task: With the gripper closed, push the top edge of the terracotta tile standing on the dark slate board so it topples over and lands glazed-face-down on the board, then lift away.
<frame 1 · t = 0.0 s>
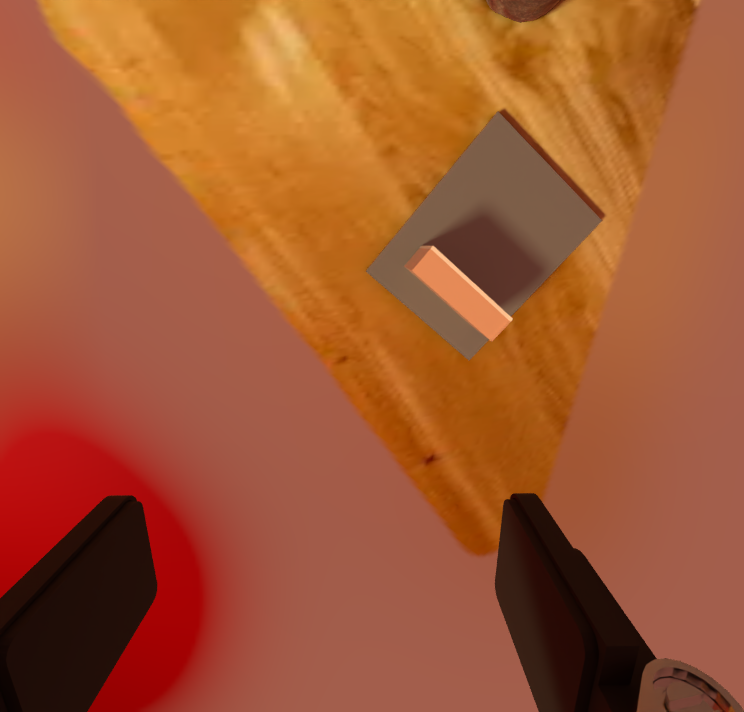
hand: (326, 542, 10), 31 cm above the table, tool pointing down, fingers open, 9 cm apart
tile: (446, 286, 38), point 1 cm above the table, touching board
board: (479, 246, 38), on the table
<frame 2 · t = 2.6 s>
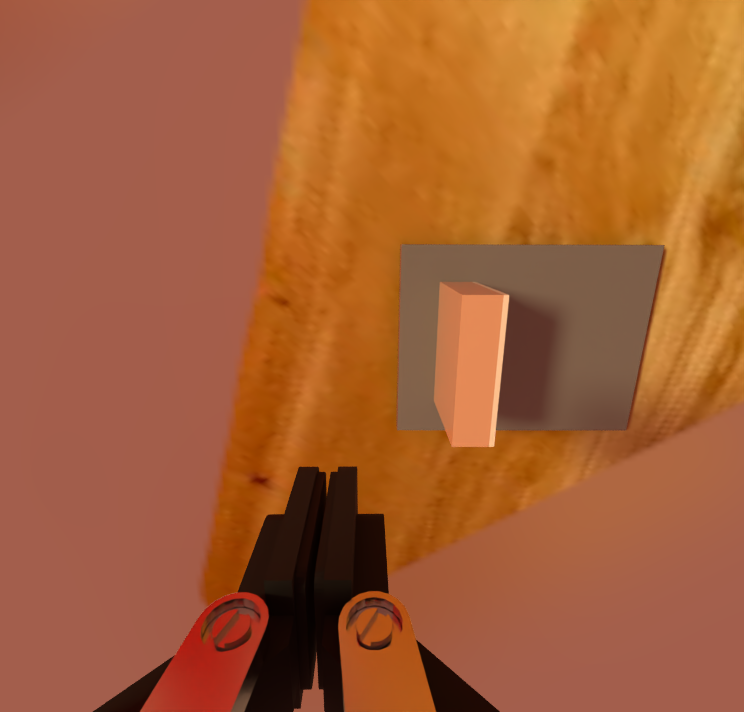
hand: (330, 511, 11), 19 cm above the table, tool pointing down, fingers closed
tile: (453, 343, 29), point 1 cm above the table, touching board
board: (516, 340, 30), on the table
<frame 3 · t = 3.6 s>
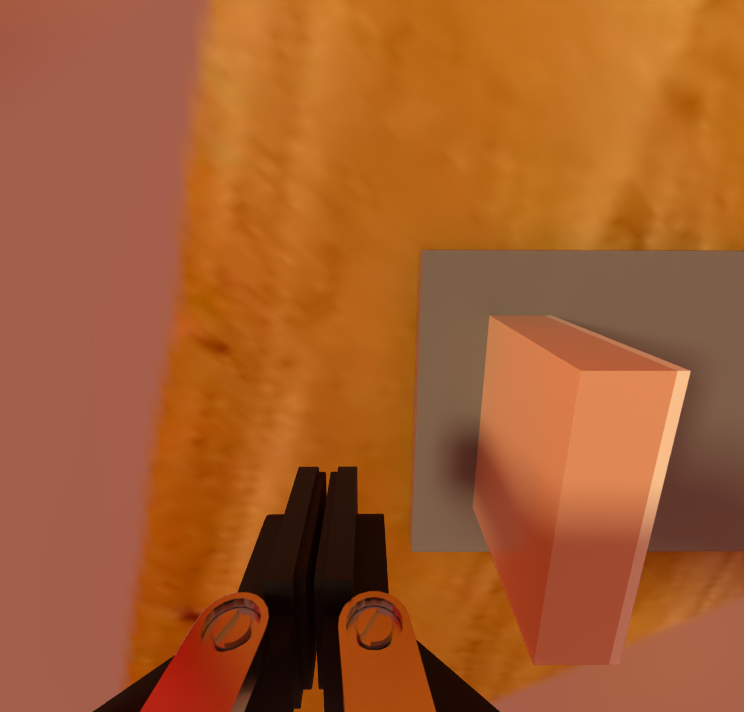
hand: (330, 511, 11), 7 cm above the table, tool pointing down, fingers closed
tile: (509, 418, 17), point 1 cm above the table, touching board
board: (611, 409, 18), on the table
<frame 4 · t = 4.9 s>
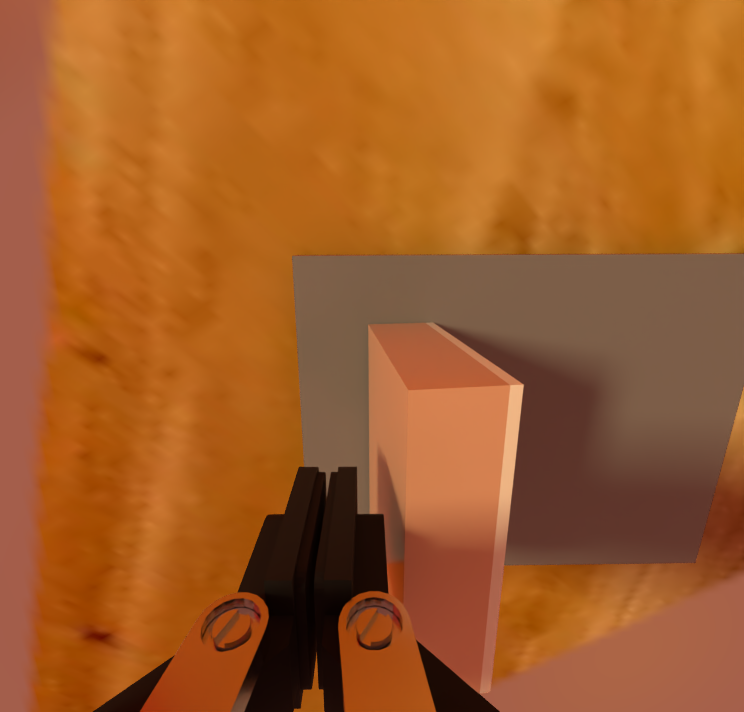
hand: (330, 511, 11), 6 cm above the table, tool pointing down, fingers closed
tile: (399, 430, 16), point 1 cm above the table, tilted 7°, touching board
board: (510, 418, 17), on the table
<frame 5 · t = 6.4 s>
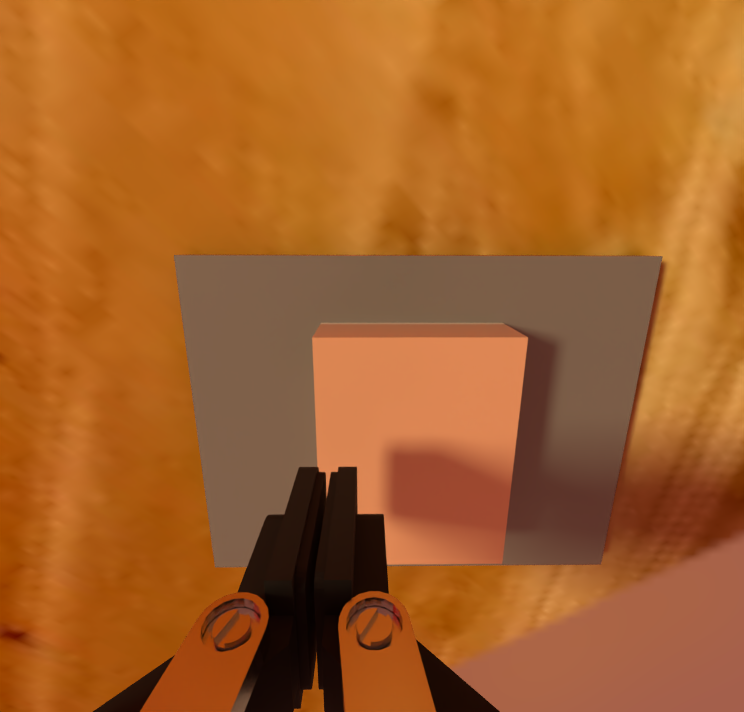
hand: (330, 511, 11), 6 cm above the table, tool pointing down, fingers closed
tile: (321, 444, 15), point 2 cm above the table, tilted 90°, touching board
board: (411, 418, 17), on the table
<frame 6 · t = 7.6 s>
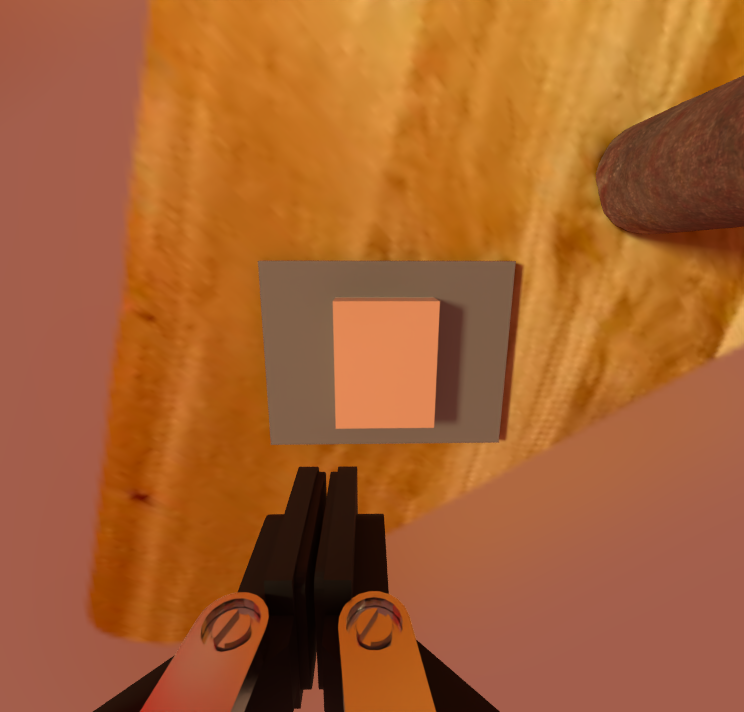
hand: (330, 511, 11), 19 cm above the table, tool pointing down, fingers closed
tile: (335, 362, 28), point 2 cm above the table, tilted 90°, touching board
brown weathered post: (643, 180, 27), on the table
board: (385, 354, 30), on the table
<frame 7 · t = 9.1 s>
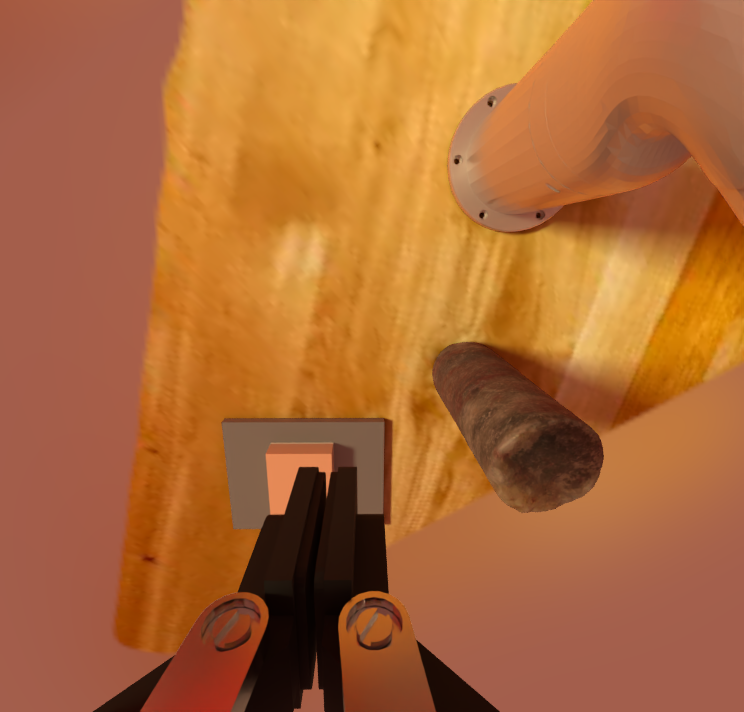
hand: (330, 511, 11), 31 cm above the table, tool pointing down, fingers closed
tile: (271, 484, 44), point 2 cm above the table, tilted 90°, touching board
brown weathered post: (465, 371, 43), on the table
board: (307, 472, 46), on the table
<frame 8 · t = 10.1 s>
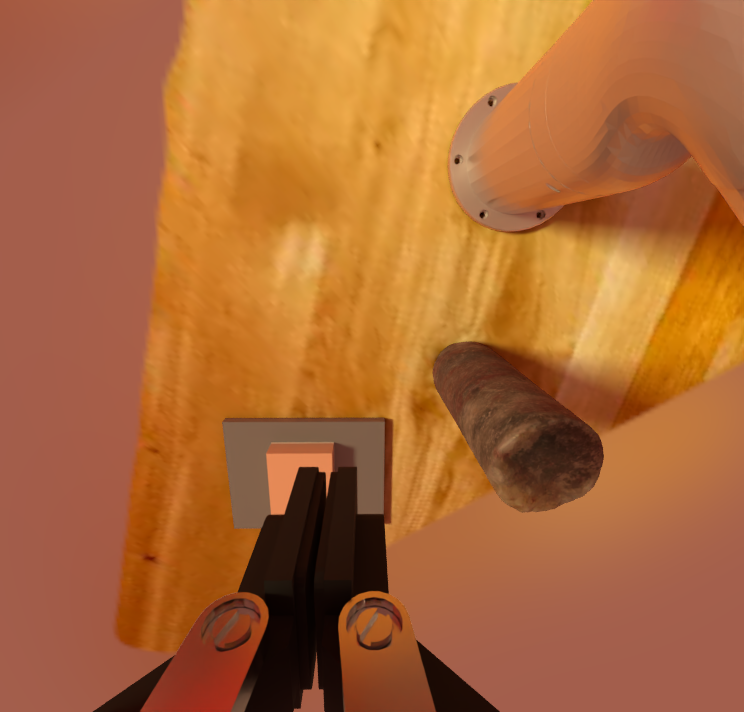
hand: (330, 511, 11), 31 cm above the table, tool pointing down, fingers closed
tile: (271, 483, 44), point 2 cm above the table, tilted 90°, touching board
brown weathered post: (466, 371, 43), on the table
board: (307, 472, 46), on the table
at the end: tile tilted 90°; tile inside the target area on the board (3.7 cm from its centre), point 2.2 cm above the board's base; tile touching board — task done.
